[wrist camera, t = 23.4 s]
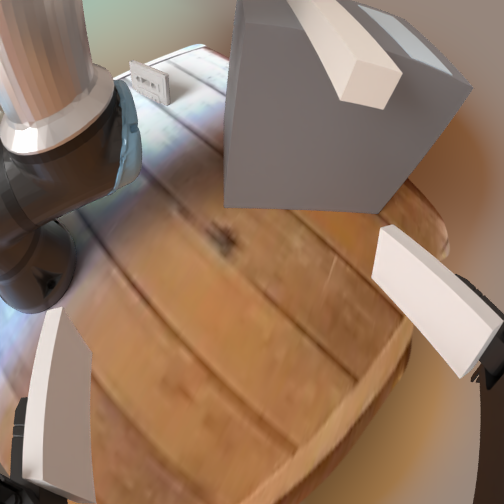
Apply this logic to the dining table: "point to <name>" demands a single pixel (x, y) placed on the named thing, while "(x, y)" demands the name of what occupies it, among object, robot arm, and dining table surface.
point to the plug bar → (348, 53)
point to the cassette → (150, 82)
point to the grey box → (326, 114)
